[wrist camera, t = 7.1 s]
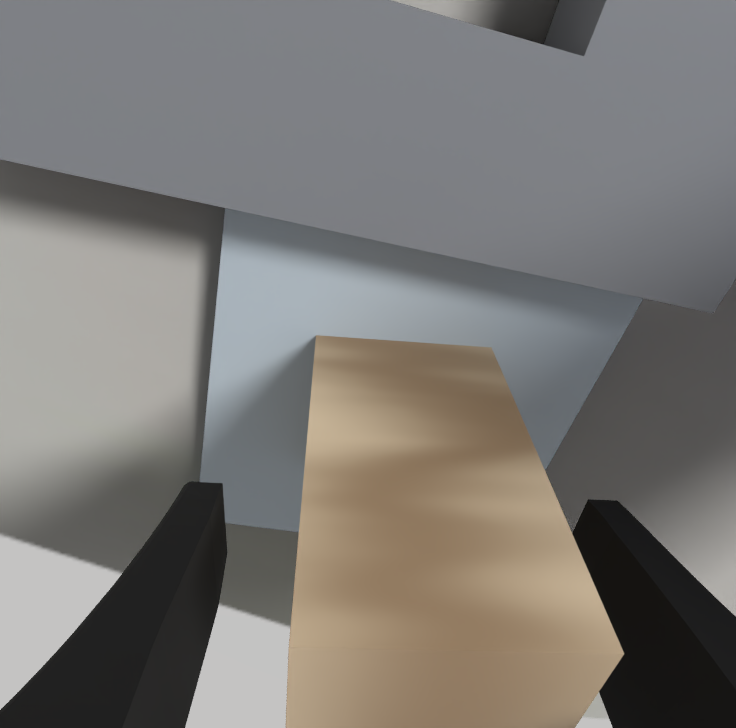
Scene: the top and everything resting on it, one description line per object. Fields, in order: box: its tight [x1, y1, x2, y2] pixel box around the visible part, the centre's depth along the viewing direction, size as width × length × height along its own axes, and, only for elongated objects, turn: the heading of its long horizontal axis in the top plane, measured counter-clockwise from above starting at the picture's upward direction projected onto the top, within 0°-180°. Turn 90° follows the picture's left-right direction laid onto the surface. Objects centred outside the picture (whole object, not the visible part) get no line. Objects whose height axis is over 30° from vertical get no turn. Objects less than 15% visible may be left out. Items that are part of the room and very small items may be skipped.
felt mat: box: [199, 208, 643, 532], centre depth 14 cm, size 9×9×1 cm
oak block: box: [286, 335, 624, 728], centre depth 10 cm, size 4×4×7 cm
